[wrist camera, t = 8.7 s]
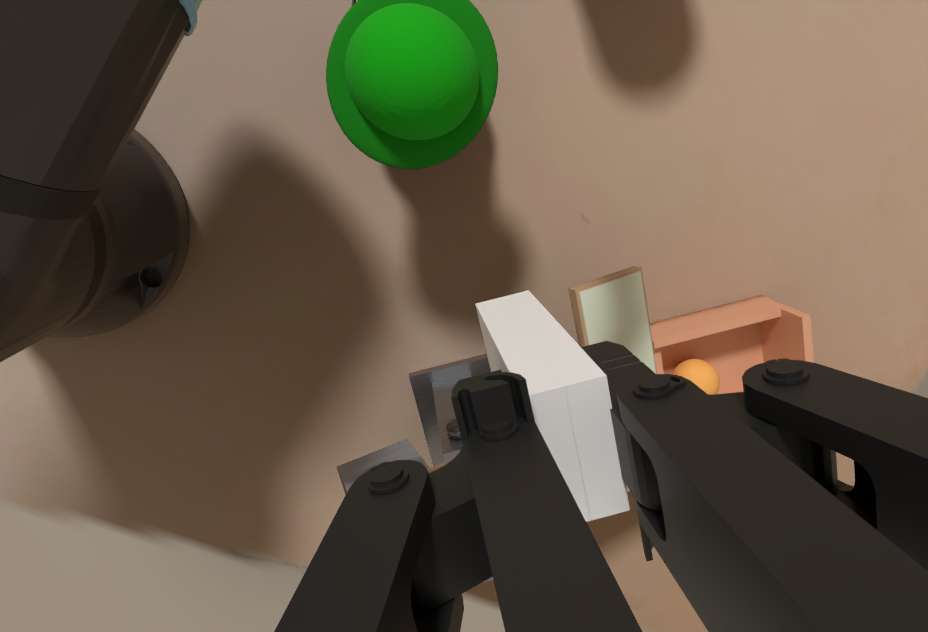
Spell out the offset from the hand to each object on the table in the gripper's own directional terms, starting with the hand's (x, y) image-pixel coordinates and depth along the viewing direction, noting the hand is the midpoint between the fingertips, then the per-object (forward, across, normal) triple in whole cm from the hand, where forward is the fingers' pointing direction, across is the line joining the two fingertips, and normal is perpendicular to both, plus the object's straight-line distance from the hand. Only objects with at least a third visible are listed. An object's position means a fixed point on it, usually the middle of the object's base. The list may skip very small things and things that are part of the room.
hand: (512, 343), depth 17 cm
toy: (+29, 0, +9) cm, 30 cm away
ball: (+26, +16, -16) cm, 35 cm away
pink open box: (+28, +18, -16) cm, 37 cm away
